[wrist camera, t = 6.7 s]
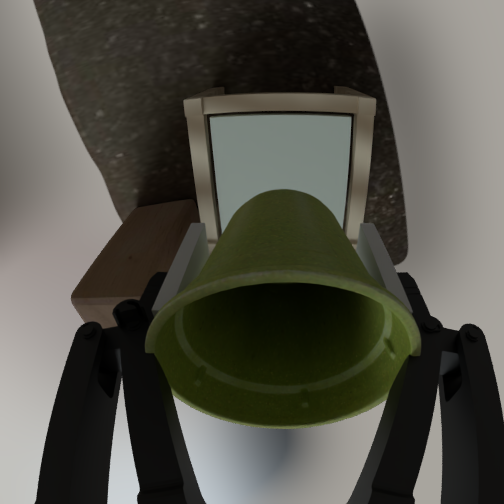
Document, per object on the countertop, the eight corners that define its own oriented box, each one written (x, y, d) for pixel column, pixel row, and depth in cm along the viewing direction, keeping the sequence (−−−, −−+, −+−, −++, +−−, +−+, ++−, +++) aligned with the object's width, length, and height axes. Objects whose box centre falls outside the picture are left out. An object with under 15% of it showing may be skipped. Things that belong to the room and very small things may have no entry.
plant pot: (352, 303, 19) (374, 427, 12) (206, 299, 20) (176, 421, 13) (381, 163, 14) (467, 275, 7) (189, 157, 14) (106, 264, 7)
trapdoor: (213, 113, 26) (203, 121, 23) (347, 112, 25) (357, 120, 22) (230, 281, 38) (226, 304, 35) (332, 281, 37) (336, 305, 33)
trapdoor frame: (211, 87, 33) (183, 100, 23) (346, 86, 31) (376, 98, 21) (222, 204, 42) (205, 256, 32) (339, 204, 40) (358, 256, 31)
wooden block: (196, 195, 41) (144, 295, 25) (212, 254, 47) (181, 363, 31) (133, 205, 43) (64, 297, 27) (154, 259, 49) (106, 358, 32)
